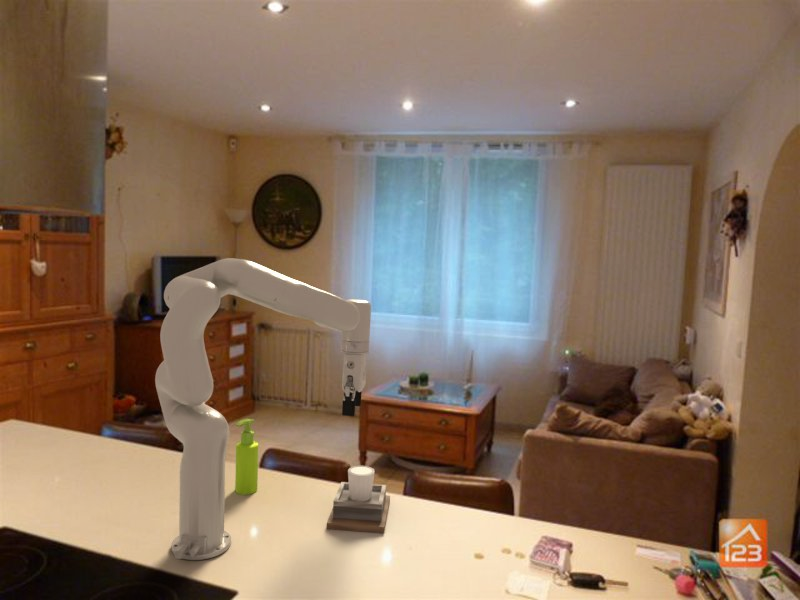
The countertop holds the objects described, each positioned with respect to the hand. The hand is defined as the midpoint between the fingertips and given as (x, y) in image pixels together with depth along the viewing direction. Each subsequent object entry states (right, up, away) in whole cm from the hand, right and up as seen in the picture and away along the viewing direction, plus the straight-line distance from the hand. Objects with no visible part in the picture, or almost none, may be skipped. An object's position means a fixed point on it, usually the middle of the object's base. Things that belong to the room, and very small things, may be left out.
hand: (351, 410), depth 156 cm
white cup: (+3, -21, -5) cm, 22 cm away
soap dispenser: (-30, -23, +6) cm, 38 cm away
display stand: (+2, -26, -5) cm, 26 cm away
